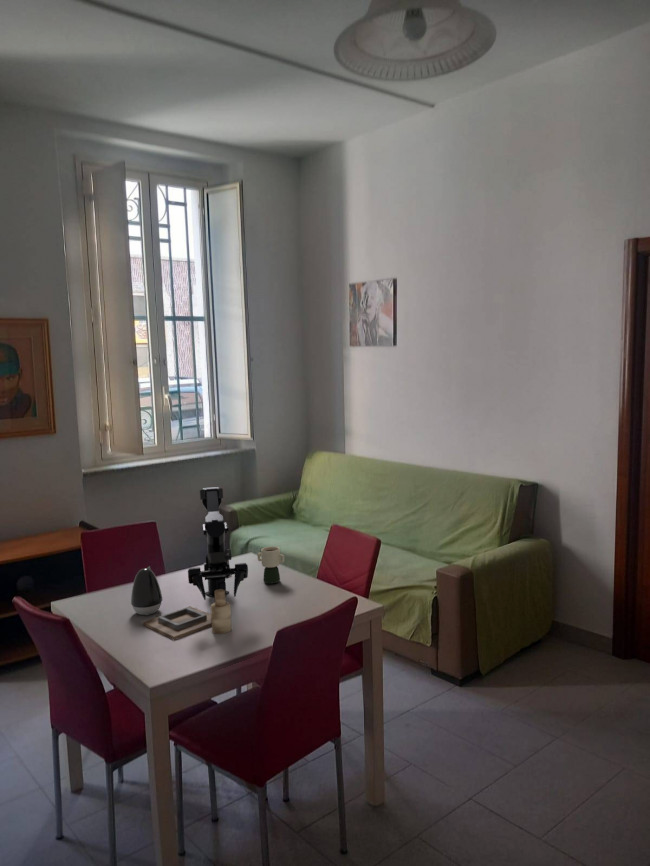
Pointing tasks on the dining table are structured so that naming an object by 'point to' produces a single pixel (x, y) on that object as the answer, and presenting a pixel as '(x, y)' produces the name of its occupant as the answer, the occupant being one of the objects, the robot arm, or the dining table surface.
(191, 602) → the dining table surface
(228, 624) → the wooden peg
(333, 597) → the dining table surface
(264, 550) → the cream and green trophy
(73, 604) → the dining table surface
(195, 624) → the board
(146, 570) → the black egg-shaped body
